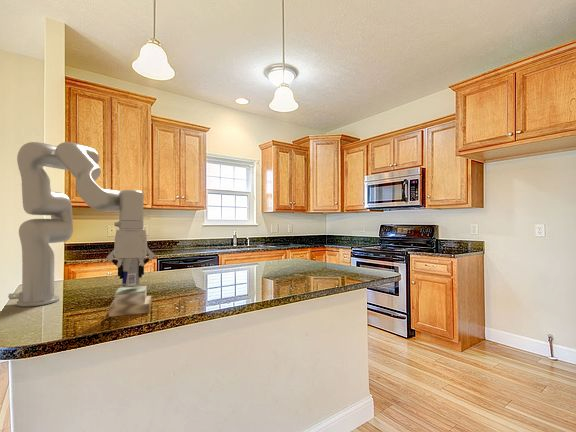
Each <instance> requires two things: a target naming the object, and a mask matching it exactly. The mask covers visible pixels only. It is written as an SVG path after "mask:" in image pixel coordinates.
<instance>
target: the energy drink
mask: <svg viewBox="0 0 576 432" xmlns="http://www.w3.org/2000/svg"><path fill="white" fill-rule="evenodd" d="M139 266H140V261H139V259H138V258H136V259H135V258H127V259H123V263H122V267H123V269H122V279H121V284H122V286H121V287H122V288H124V287H139V286H140V281H141V280H140V279H141V278H140V277H139Z"/></svg>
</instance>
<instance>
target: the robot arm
mask: <svg viewBox="0 0 576 432" xmlns="http://www.w3.org/2000/svg"><path fill="white" fill-rule="evenodd" d="M16 157H17V158H16V160H17V167H18V170H19V173H20V178H21V179H20V180H21V196H22V199H21V200H22V207H23V210H24V211H25V213H26V214H28V215H32V216H50V218H33V219H31V218H30V219H28V220H25V221H24V222H22V223H21V224H20V226H19V227H18V236H19V241H20V244H21V254H22V255H21V258H22V259H21V263H22V265H21V268H22V269H21V270H22V271H21V272H22V273H21V274H22V276H21V278H22V280H21V281H22V282H21V286H22V288H21V289H22V290H21V291H20V292H18V293H17V292H15V293H13V292H12V293H9V294H8V297H7V298H8V299H9V300H17V301H16V306H17V307H22V308H23V307H24V308H25V307H38V306H44V305H49V304H53V303H55V302H58V301H59V300H60V296H59V295H56V294H55V252H54V251H53V249H52V246H50V244H55V243H64V242H67V241H68V240H70V239H71V238H72V236H73V233H74V221H73V205H72V201H71V199H70V197H69V196H68V195H67V194H65V193H62V192H59V191H52V189H51V179H50V177H49V175H48V173H47V172H46V170H45V169H44V168H43V167H46V168H47V167H48V168H52V169H59V170H65V171H66V170H67V171H68V172H69V173H71V175H72V176H73V177H74V178H75V180H76V181H75V188H76V193H77V194H78V197H80V198H81V200H82V201H83V202H84V203H85V204H86V205H87V207H90V208H91V209H93V210H94V211H99V212H100V211H101V212H118V213H119V215H118V216H119V220H118V221H117V222H114V227H117V228H119V229H116V231H115V237H114V248H113V249H112V251H111V252H110V253H109V254H107V256H106V260H109V261H110V262H111V263H113V265H114V266H116V267H117V277H119V280H122V269H123V267H122V263H123V259H127V258H135V259H136V258H138V259H139V261H140V266H139V277H140V279H141V278H142V277H143V275H145V265H147V263H148V262H149V261H151V260H152V259H153V258H154V257H155V256H156V255H155V253H154V252H153V251H152V250H151V249H150V248H149V247H148V239H147V238H148V237H147V231H146V229H145V228H144V196H145V195H144V193H143V192H142V191H141V190H134V189H125V190H118V189H117V190H115V189H107V188H101V187H100V186H99V185H98V184H97V183H96V182H95V181H96V180H98V179H99V177H100V176H101V173H102V170H101V167H100V166H99V165H98V164H99V161H100V156H99V154H98V152H97V151H96V149H95V148H93V147H91V146H87V145H83V144H81V143H76V142H72V141H65V142H61V143H59V144H58V145H57V146H56V145H52V144H50V143H46V142H45V143H44V142H40V141H39V142H38V141H35V142H34V141H31V142H30V141H29V142H26V143H25V144H23V145H22V146H21V147H20V148H19V150H18V152H17V156H16ZM147 255H148V257H147ZM144 258H145V259H144Z"/></svg>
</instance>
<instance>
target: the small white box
mask: <svg viewBox="0 0 576 432" xmlns="http://www.w3.org/2000/svg"><path fill="white" fill-rule="evenodd" d="M147 293H148V292H147V285H139V286H136V287H118V289H117V290H116V291H115V292H114V299H113V300H112V302H111V303H110V304H109V306H108V317H118V316H120V317H121V316H128V315H129V316H130V315H139V314H148V313H149V314H150V311H151V305H152V295H147Z"/></svg>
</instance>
